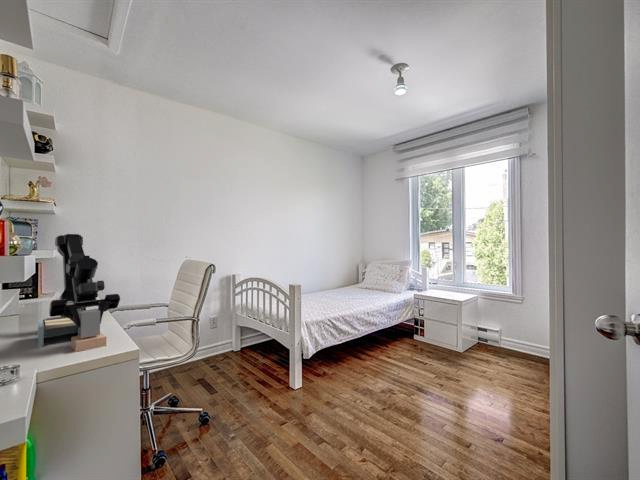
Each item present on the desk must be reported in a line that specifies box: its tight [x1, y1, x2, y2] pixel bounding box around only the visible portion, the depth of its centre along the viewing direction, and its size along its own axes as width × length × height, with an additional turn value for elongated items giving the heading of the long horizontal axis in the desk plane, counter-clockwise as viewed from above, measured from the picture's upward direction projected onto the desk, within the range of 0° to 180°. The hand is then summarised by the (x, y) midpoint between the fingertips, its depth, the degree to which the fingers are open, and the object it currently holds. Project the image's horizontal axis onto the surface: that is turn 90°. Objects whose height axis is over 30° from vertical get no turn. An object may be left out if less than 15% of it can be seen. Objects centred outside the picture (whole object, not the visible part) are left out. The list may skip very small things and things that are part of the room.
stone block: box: [70, 331, 107, 353], centre depth 99 cm, size 8×8×3 cm
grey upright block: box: [77, 308, 101, 338], centre depth 99 cm, size 5×5×8 cm
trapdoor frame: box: [37, 318, 78, 349], centre depth 107 cm, size 15×15×6 cm
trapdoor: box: [44, 316, 76, 329], centre depth 107 cm, size 12×12×2 cm
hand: (90, 325), depth 98 cm, fingers closed on grey upright block, 5 cm apart
